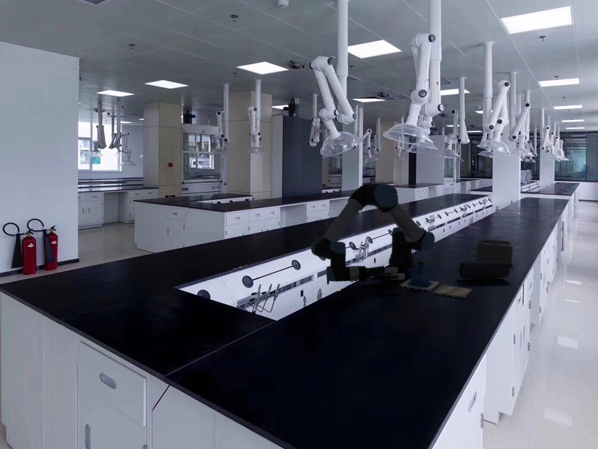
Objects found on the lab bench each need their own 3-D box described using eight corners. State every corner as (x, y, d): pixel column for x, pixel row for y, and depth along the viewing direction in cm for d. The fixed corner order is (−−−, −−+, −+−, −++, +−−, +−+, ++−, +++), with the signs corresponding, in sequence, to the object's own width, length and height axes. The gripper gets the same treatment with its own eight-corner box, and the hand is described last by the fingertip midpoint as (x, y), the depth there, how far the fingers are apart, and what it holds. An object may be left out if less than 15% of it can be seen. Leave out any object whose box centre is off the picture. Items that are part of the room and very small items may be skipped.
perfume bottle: (419, 287, 213) (420, 263, 211) (410, 284, 218) (411, 261, 216) (429, 286, 215) (429, 262, 214) (420, 283, 221) (420, 260, 219)
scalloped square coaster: (399, 286, 215) (399, 284, 215) (410, 280, 227) (410, 278, 227) (430, 291, 206) (430, 289, 206) (439, 284, 219) (439, 282, 219)
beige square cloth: (433, 294, 202) (433, 292, 202) (442, 287, 214) (442, 285, 214) (464, 298, 194) (464, 296, 194) (472, 291, 206) (472, 289, 206)
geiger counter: (513, 240, 262) (469, 236, 275) (512, 241, 256) (467, 238, 270) (512, 263, 264) (468, 258, 277) (510, 265, 258) (466, 260, 272)
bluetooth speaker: (500, 277, 231) (501, 258, 230) (509, 281, 222) (510, 262, 221) (458, 277, 231) (458, 259, 229) (465, 282, 221) (466, 263, 220)
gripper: (354, 274, 228) (394, 274, 229) (361, 288, 203) (407, 287, 204) (354, 260, 227) (395, 260, 228) (361, 272, 202) (407, 271, 203)
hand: (400, 273), depth 216 cm, fingers open, 13 cm apart
